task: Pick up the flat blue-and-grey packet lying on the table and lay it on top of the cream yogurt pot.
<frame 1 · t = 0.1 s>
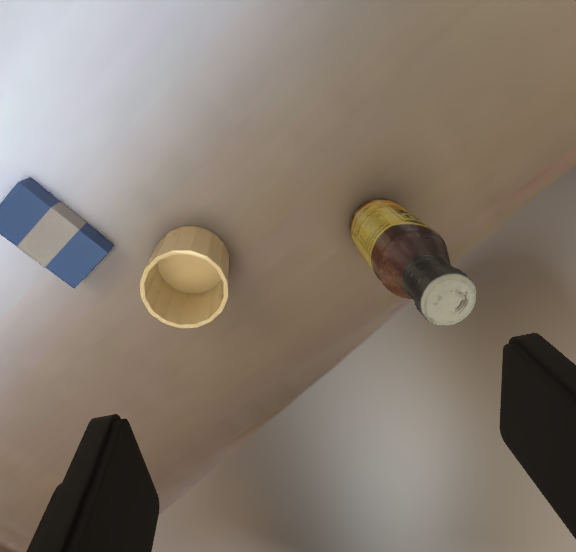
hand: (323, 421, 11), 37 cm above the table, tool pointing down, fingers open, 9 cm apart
sauce bottle: (374, 222, 49), on the table
packet: (57, 230, 46), on the table
yogurt: (192, 261, 48), on the table
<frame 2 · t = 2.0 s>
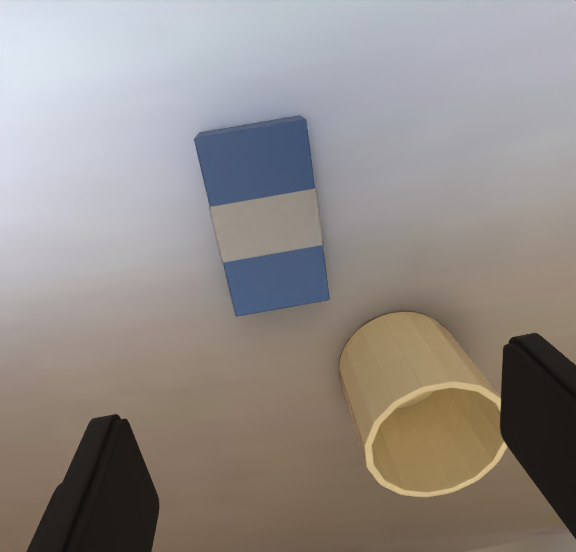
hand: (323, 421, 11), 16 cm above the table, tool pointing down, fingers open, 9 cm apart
packet: (266, 213, 26), on the table
yogurt: (396, 362, 31), on the table
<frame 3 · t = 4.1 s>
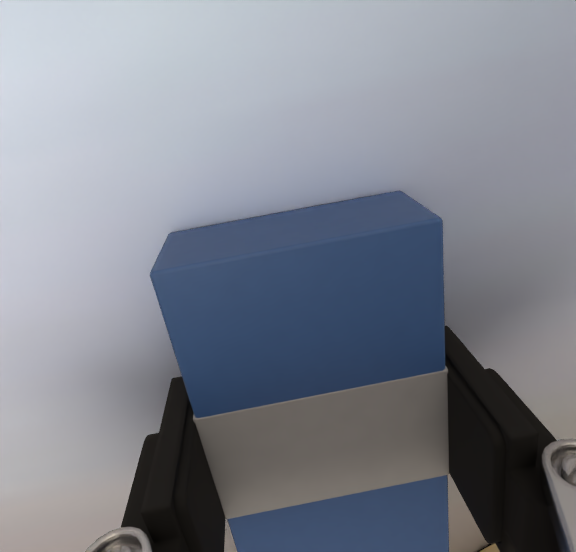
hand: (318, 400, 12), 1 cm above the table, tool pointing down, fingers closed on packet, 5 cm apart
packet: (314, 383, 12), on the table, touching gripper
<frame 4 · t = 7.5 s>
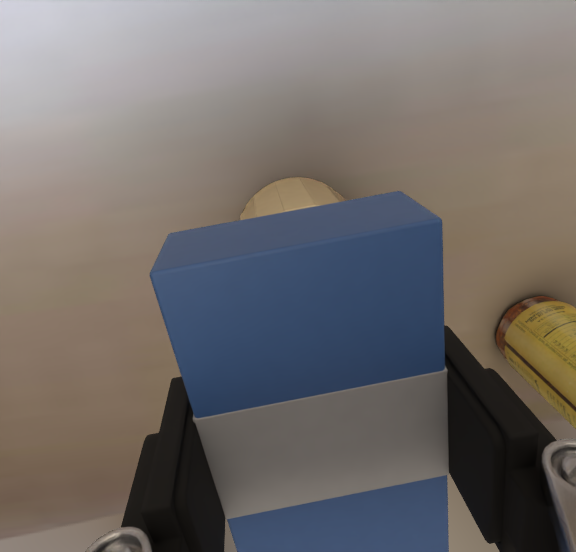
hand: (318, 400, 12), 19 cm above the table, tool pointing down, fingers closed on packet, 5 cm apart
sauce bottle: (528, 323, 35), on the table
packet: (314, 383, 12), point 19 cm above the table, touching gripper
yogurt: (296, 235, 30), on the table
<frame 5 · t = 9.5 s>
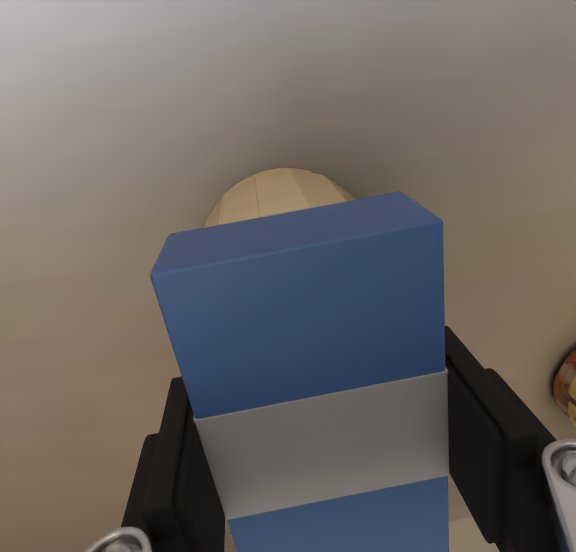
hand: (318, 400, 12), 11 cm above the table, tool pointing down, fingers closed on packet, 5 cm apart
packet: (314, 384, 12), point 10 cm above the table, touching gripper
yogurt: (285, 251, 22), on the table
when the fingers open (8 cm above the table, at t = 10.7 s): packet stays where it is, resting on yogurt.
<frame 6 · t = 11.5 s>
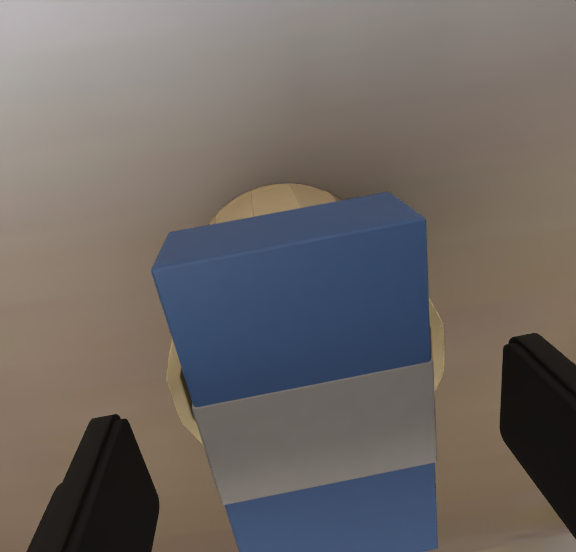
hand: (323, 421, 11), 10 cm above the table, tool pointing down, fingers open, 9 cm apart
packet: (308, 376, 13), point 7 cm above the table, touching yogurt
yogurt: (285, 273, 20), on the table, touching packet
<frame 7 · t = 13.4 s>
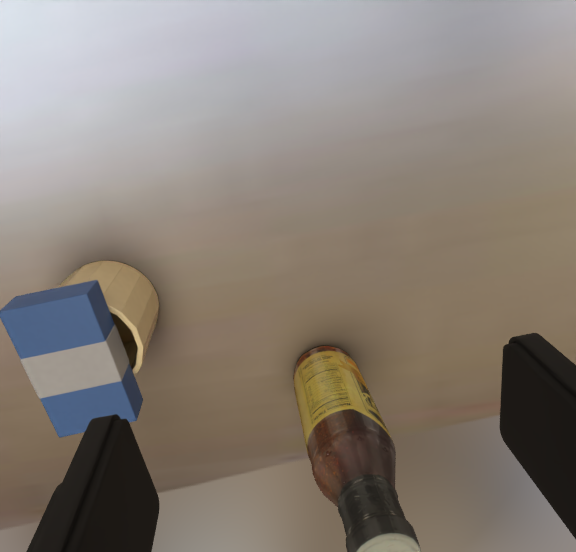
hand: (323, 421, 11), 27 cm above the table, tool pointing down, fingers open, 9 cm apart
sauce bottle: (322, 366, 43), on the table
packet: (83, 351, 31), point 7 cm above the table, touching yogurt
yogurt: (111, 304, 38), on the table, touching packet
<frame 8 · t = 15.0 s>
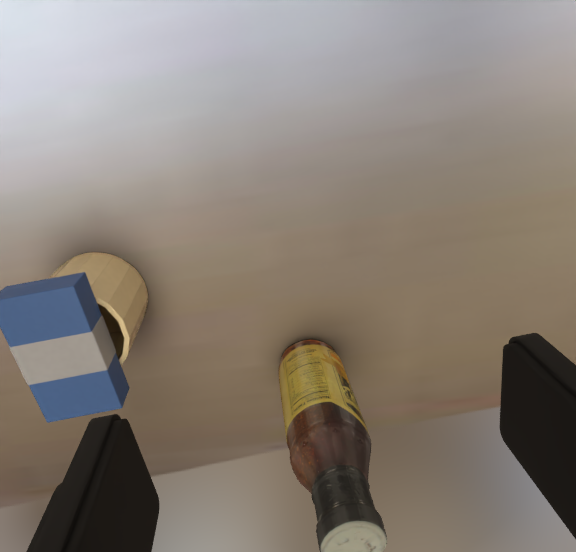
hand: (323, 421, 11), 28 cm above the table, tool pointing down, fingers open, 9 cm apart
sauce bottle: (307, 359, 44), on the table
packet: (71, 340, 32), point 7 cm above the table, touching yogurt
yogurt: (101, 294, 39), on the table, touching packet
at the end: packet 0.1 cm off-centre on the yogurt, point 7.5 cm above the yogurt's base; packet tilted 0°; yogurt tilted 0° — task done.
